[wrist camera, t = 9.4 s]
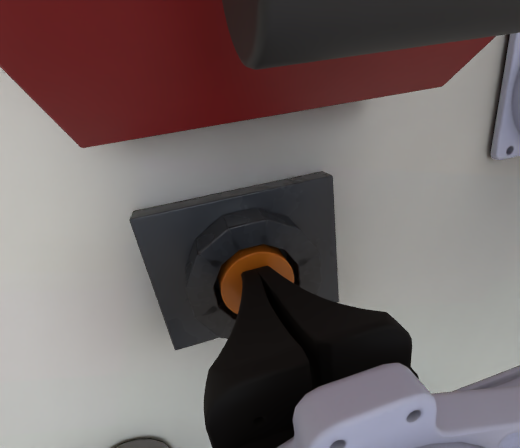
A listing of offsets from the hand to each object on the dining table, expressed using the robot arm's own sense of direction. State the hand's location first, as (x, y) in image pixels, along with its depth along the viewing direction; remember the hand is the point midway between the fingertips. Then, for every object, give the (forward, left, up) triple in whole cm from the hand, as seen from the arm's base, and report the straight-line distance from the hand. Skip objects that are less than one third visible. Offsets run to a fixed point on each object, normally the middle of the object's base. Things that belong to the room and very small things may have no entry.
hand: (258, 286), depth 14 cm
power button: (0, 0, -2) cm, 2 cm away
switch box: (0, 0, -3) cm, 3 cm away
